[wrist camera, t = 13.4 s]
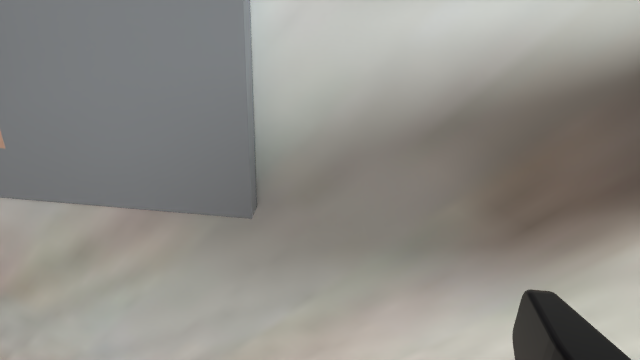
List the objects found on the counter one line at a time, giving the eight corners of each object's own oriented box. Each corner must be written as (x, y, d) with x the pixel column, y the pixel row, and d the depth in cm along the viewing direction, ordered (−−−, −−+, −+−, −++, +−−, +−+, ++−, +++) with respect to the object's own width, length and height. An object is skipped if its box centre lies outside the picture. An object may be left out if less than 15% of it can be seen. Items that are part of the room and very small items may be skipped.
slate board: (246, -98, 18) (239, -97, 17) (257, 206, 24) (251, 219, 23) (-241, -115, 19) (-271, -115, 18) (-118, 175, 25) (-137, 186, 24)
